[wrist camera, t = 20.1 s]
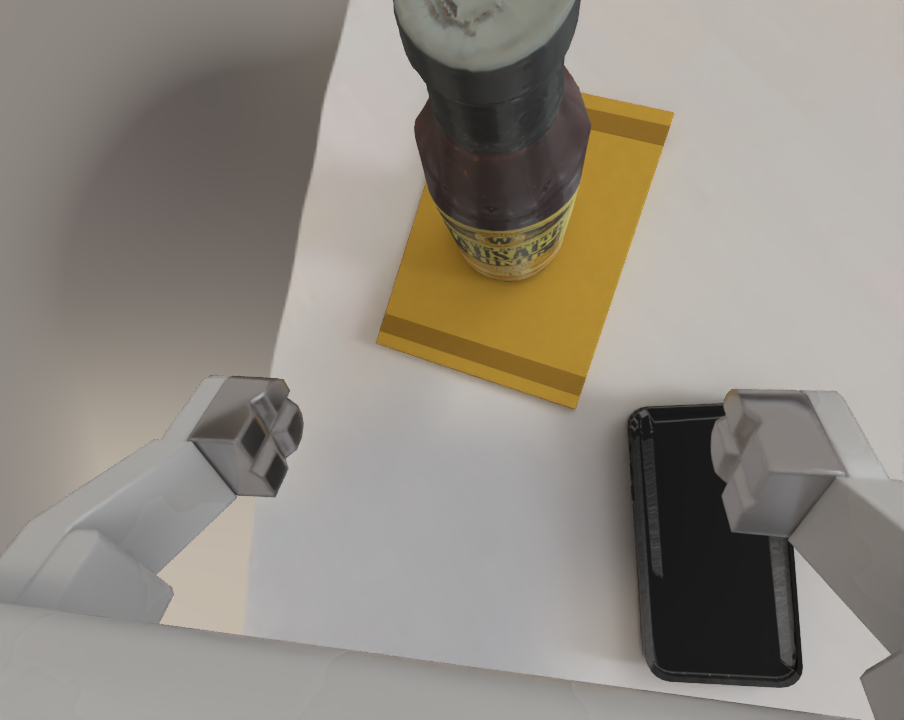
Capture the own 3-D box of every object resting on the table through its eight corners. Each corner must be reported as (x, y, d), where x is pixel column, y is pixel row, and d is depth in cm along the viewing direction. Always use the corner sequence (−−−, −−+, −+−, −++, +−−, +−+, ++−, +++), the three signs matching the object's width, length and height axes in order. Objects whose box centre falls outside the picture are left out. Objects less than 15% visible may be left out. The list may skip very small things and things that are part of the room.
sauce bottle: (458, 284, 30) (301, 132, 11) (464, 183, 30) (319, -154, 11) (566, 288, 29) (615, 123, 9) (573, 183, 29) (634, -200, 9)
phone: (782, 402, 26) (804, 689, 25) (772, 401, 27) (793, 676, 27) (627, 409, 27) (645, 680, 27) (624, 407, 28) (641, 668, 28)
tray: (575, 409, 29) (575, 409, 29) (377, 343, 31) (375, 343, 31) (673, 115, 28) (674, 112, 28) (463, 71, 31) (462, 66, 30)
